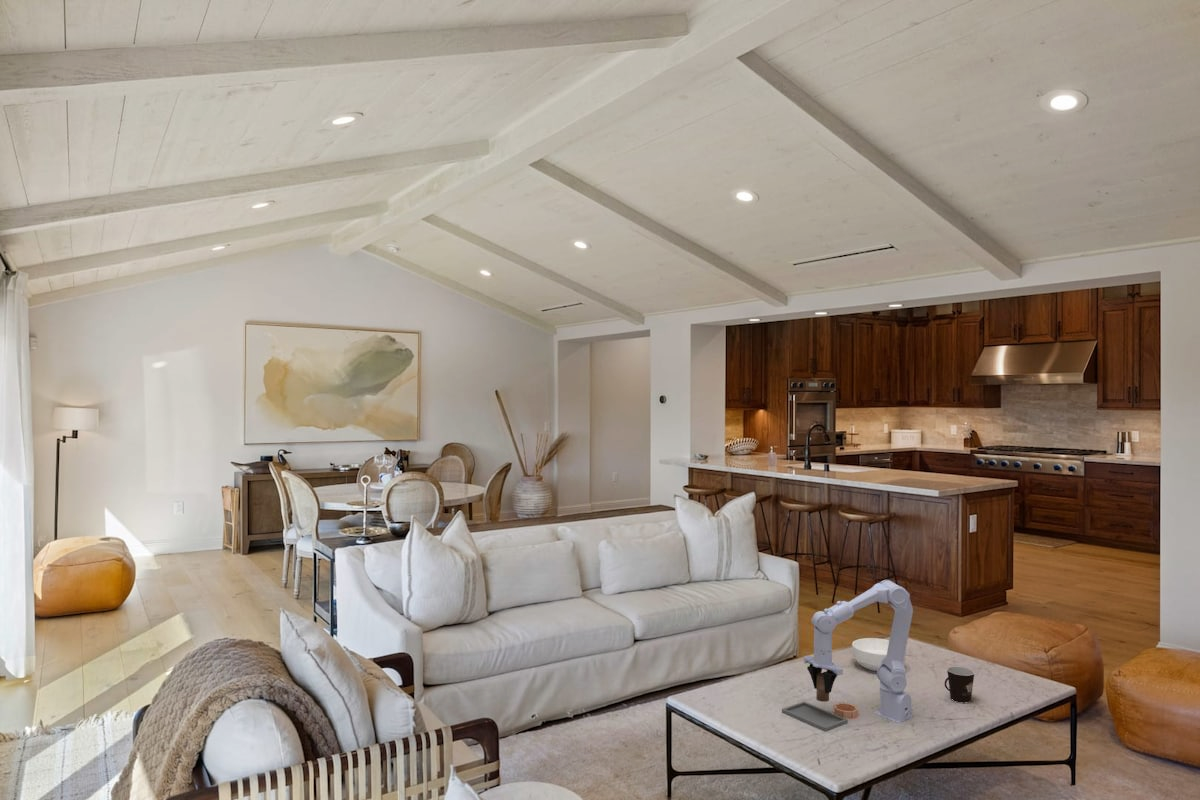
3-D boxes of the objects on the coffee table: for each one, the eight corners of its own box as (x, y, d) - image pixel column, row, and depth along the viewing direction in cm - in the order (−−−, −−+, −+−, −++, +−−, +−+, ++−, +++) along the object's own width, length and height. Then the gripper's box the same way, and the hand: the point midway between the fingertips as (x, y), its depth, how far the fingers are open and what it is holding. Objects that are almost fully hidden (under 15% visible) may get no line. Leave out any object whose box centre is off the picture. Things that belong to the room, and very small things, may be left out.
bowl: (900, 680, 289) (900, 657, 289) (846, 670, 300) (846, 648, 299) (909, 664, 306) (909, 643, 306) (858, 655, 316) (858, 635, 316)
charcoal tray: (847, 724, 252) (847, 719, 252) (825, 732, 245) (825, 728, 245) (803, 705, 266) (803, 701, 266) (781, 713, 260) (781, 709, 260)
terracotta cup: (864, 716, 258) (864, 708, 258) (848, 722, 253) (848, 714, 253) (843, 707, 265) (843, 700, 265) (827, 713, 260) (827, 706, 260)
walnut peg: (831, 700, 256) (831, 675, 256) (823, 702, 254) (823, 678, 254) (822, 695, 259) (822, 672, 259) (813, 698, 257) (814, 674, 257)
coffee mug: (966, 694, 276) (966, 666, 276) (979, 704, 267) (979, 675, 267) (934, 695, 275) (934, 666, 275) (945, 704, 267) (945, 675, 267)
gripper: (797, 645, 260) (797, 685, 260) (832, 657, 248) (832, 700, 248) (811, 641, 264) (811, 681, 264) (847, 653, 252) (846, 695, 252)
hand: (822, 690), depth 257 cm, fingers closed on walnut peg, 4 cm apart
